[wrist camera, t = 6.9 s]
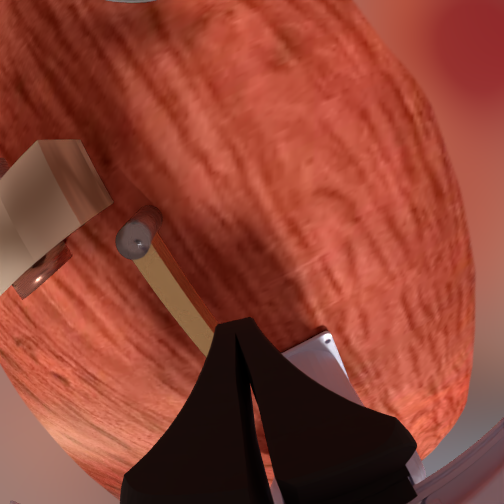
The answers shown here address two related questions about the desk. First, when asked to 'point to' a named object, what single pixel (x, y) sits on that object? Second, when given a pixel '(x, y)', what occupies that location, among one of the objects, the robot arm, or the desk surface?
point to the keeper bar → (166, 275)
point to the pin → (44, 265)
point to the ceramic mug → (131, 1)
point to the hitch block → (45, 203)
